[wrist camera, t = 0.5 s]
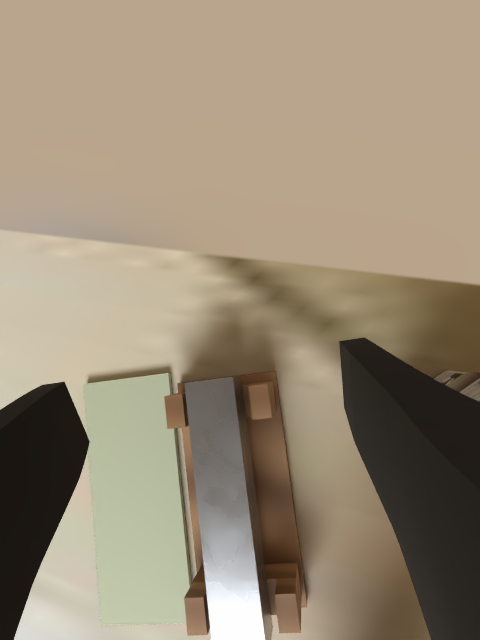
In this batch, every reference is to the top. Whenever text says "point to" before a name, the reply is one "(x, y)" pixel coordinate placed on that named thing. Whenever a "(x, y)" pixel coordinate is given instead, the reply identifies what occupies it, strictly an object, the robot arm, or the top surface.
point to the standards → (271, 503)
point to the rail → (228, 511)
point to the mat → (136, 502)
